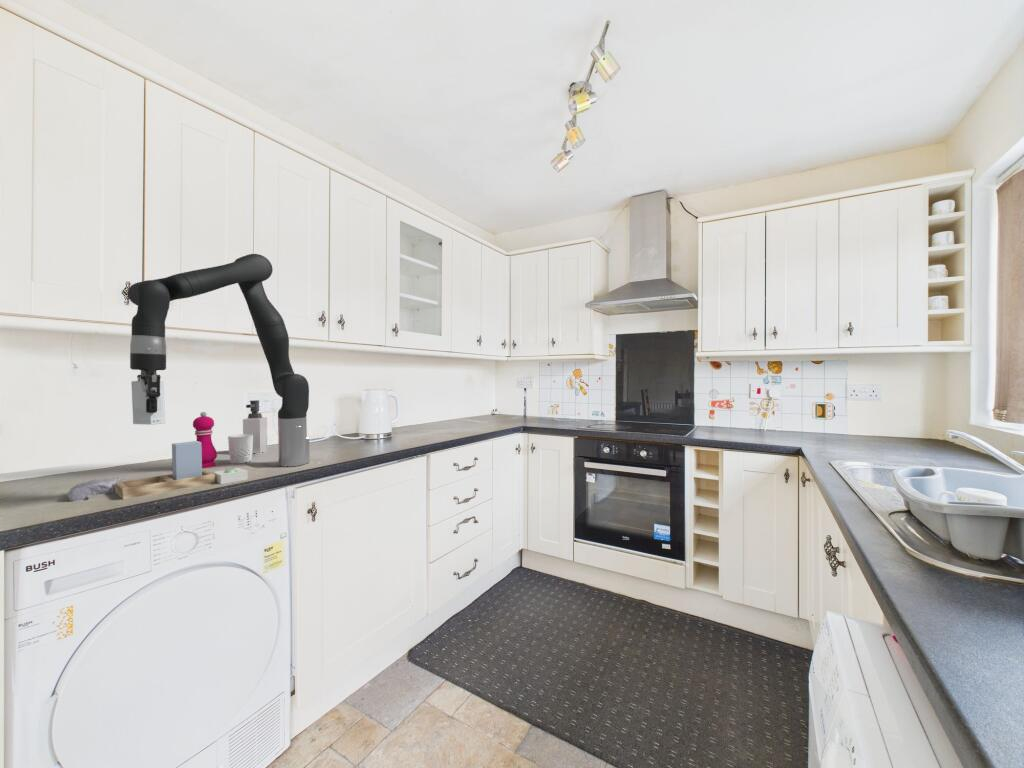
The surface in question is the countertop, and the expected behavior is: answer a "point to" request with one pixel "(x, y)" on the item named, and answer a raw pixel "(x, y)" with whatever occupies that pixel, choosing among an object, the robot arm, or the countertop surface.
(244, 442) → the white cup
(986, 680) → the countertop surface
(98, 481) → the stone block
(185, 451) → the seated block
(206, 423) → the pepper mill
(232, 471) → the button
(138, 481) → the pallet
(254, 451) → the soap dispenser
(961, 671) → the countertop surface
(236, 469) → the button box
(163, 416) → the skincare box
